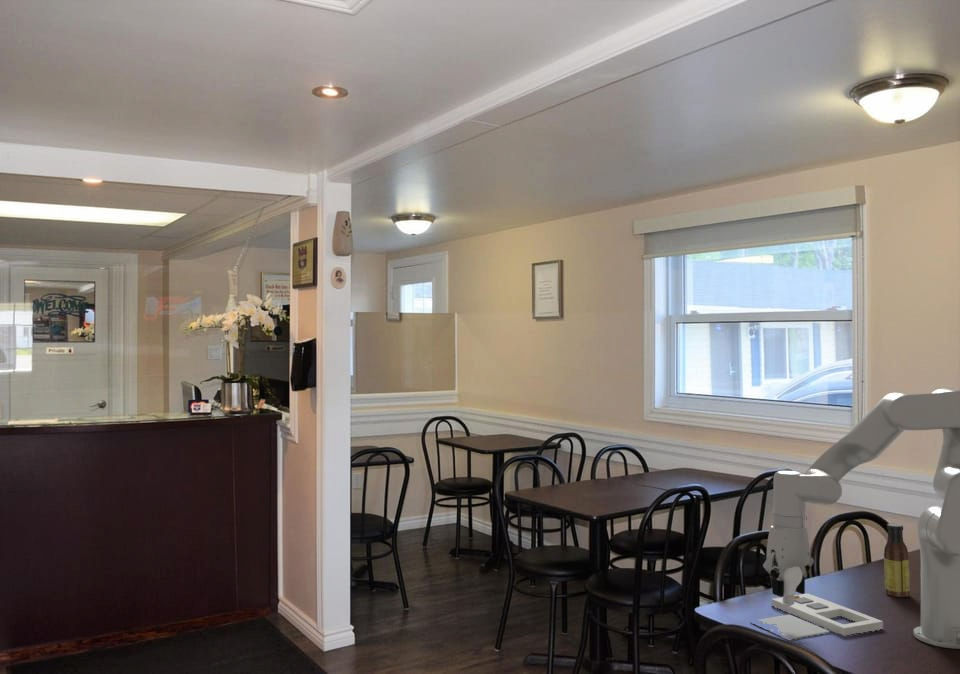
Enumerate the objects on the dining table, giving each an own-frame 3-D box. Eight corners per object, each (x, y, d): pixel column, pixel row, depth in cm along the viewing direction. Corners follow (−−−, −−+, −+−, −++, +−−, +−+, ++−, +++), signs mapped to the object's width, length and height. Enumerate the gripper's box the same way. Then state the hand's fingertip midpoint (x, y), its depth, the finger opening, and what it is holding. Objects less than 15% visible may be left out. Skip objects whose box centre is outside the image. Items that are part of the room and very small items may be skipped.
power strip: (882, 629, 195) (882, 618, 195) (844, 636, 190) (844, 625, 190) (808, 600, 217) (808, 591, 217) (771, 606, 212) (771, 596, 212)
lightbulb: (779, 599, 200) (780, 556, 200) (805, 605, 196) (806, 561, 196) (771, 605, 195) (771, 561, 195) (797, 611, 191) (797, 566, 191)
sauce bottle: (904, 591, 225) (904, 522, 226) (913, 598, 219) (913, 527, 219) (880, 591, 226) (880, 521, 226) (889, 598, 220) (889, 526, 220)
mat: (829, 633, 192) (829, 631, 192) (788, 640, 187) (788, 638, 187) (789, 616, 204) (789, 614, 204) (750, 622, 199) (750, 620, 199)
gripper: (804, 515, 203) (803, 586, 202) (751, 520, 196) (750, 593, 196) (827, 521, 196) (826, 594, 196) (773, 527, 189) (772, 602, 189)
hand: (788, 593), depth 196 cm, fingers closed on lightbulb, 6 cm apart
